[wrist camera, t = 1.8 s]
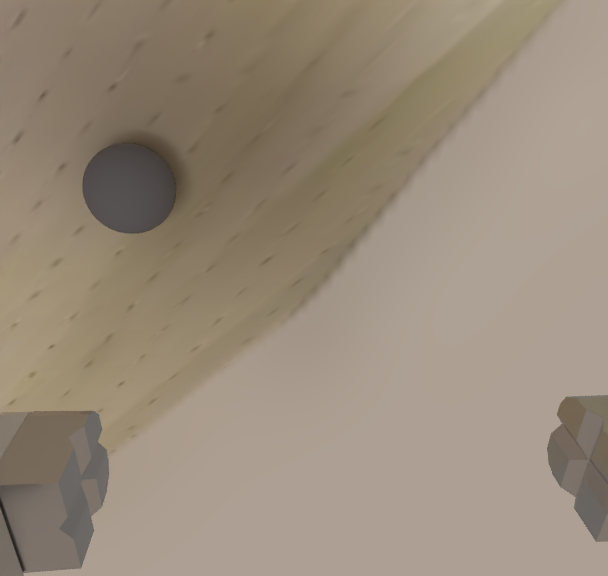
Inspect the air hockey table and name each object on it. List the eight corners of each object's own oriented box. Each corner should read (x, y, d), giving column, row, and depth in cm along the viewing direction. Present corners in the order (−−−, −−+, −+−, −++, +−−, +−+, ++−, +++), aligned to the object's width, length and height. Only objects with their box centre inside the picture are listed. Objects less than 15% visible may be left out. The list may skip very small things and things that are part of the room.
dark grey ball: (93, 212, 32) (70, 239, 27) (95, 129, 30) (72, 144, 25) (175, 223, 33) (167, 251, 28) (183, 144, 31) (175, 161, 26)
